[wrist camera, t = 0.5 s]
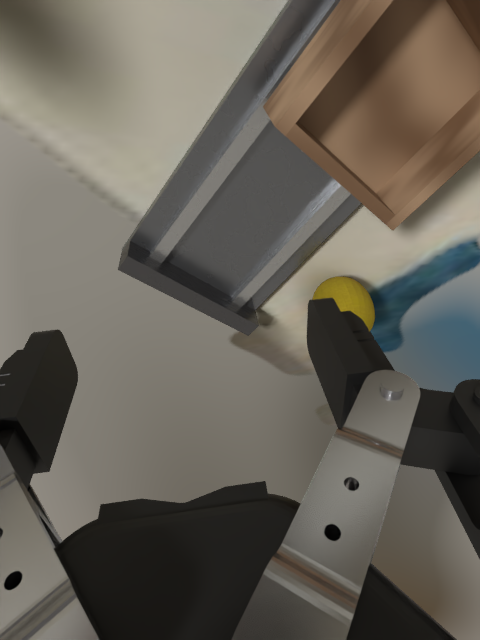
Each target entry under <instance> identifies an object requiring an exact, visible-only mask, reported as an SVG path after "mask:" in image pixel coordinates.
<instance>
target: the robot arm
mask: <svg viewBox="0 0 480 640" xmlns="http://www.w3.org/2000/svg"><path fill="white" fill-rule="evenodd" d="M307 346H308V351H309V355H310V358H311V360H312V363H313V365H314V368H315V370H316V373H317V375H318V378H319V381H320V383H321V386H322V388H323V391H324V393H325V396H326V398H327V401H328V404H329V406H330V409H331V411H332V414H333V416H334V419H335V421H336V424H337V427H338V429H337V430H336V432H335V434H334V435H333V437H332V440H331V442H330V444H329V446H328V448H327V450H326V452H325V454H324V456H323V458H322V460H321V463H320V465H319V467H318V469H317V471H316V473H315V475H314V477H313V479H312V481H311V483H310V486H309V488H308V490H307V492H306V494H305V496H304V498H303V500H302V502H301V504H300V503H298V502H296V501H295V500H292V499H289V498H287V497H283V496H279V495H275V494H268V493H267V488H266V482H265V481H263V482H256V483H249V484H242V485H235V486H228V487H224V488H221V489H219V490H216V491H214V492H212V493H209V494H206V495H204V496H201V497H199V498H196V499H194V500H191V501H189V502H186V503H175V502H166V501H157V500H148V499H136V500H129V501H123V502H115V503H109V504H101V506H100V511H99V517H98V519H97V520H94V521H92V522H90V523H88V524H86V525H84V526H83V527H81V528H80V529H78V530H77V531H75V532H74V533H73V534H71V535H70V536H68V537H67V538H66V539H65V540H63V541H62V539H61V538H60V536H59V535H58V533H57V531H56V529H55V528H54V526H53V524H52V522H51V520H50V518H49V517H48V515H47V513H46V511H45V509H44V508H43V506H42V504H41V502H40V501H39V499H38V497H37V495H36V493H35V492H34V490H33V488H32V487H31V485H30V481H31V478H32V475H33V474H34V473H42V472H49V471H50V468H51V465H52V461H53V458H54V455H55V452H56V449H57V446H58V443H59V440H60V436H61V433H62V430H63V427H64V424H65V421H66V418H67V414H68V411H69V408H70V405H71V402H72V399H73V395H74V392H75V389H76V386H77V382H78V372H77V367H76V364H75V362H74V359H73V357H72V355H71V352H70V350H69V348H68V346H67V343H66V341H65V338H64V336H63V334H62V332H61V331H60V330H50V331H42V332H34V333H32V334H31V336H30V337H29V339H28V341H27V343H26V345H25V347H24V349H23V350H17V351H16V352H15V353H14V354H13V355H12V356H11V357H10V358H8V359H7V360H6V361H5V362H4V364H3V366H2V367H1V369H0V640H456V639H455V638H454V637H453V636H452V635H451V634H450V633H449V632H448V631H446V630H445V629H444V628H443V627H442V626H441V625H440V624H439V623H437V622H436V621H435V620H434V619H433V618H432V617H431V616H430V615H428V614H427V613H426V612H425V611H424V610H423V609H422V608H421V607H419V606H418V605H417V604H416V603H415V602H414V601H413V600H411V599H410V598H409V597H408V596H407V595H406V594H405V593H404V592H403V591H402V590H400V589H399V588H398V587H397V586H396V585H395V584H394V583H393V582H391V581H390V580H389V579H388V578H387V577H386V576H385V575H384V574H382V573H381V572H380V571H379V570H378V569H377V568H376V567H375V566H374V565H373V564H371V561H372V558H373V554H374V551H375V547H376V544H377V541H378V538H379V534H380V531H381V527H382V524H383V521H384V517H385V514H386V511H387V507H388V504H389V501H390V497H391V494H392V490H393V487H394V484H395V481H396V477H397V474H398V471H399V467H400V464H402V465H408V466H414V467H420V468H427V469H433V470H435V472H436V474H437V476H438V478H439V480H440V482H441V483H442V486H443V487H444V490H445V492H446V493H447V496H448V498H449V499H450V501H451V503H452V505H453V507H454V509H455V511H456V513H457V515H458V517H459V519H460V521H461V523H462V525H463V527H464V529H465V531H466V533H467V535H468V537H469V539H470V541H471V543H472V544H473V547H474V549H475V551H476V553H477V555H478V557H479V558H480V380H476V379H475V380H474V379H472V380H465V381H463V382H461V383H459V384H458V385H457V386H456V388H455V391H454V393H451V392H442V391H434V390H427V389H422V388H419V387H418V385H417V383H416V382H415V381H414V380H413V379H411V378H410V377H408V376H407V375H405V374H403V373H400V372H397V371H395V370H394V369H393V367H392V365H391V364H390V362H389V361H388V359H387V358H386V356H385V354H384V353H383V351H382V350H381V348H380V346H379V345H378V343H377V342H376V340H374V337H373V335H372V334H371V332H369V329H368V327H367V326H366V324H365V323H364V321H363V320H362V319H361V318H360V317H359V316H357V315H356V314H354V313H353V312H351V311H342V312H341V311H340V309H339V307H338V305H337V304H336V302H335V300H334V299H333V298H323V299H315V300H310V301H309V303H308V320H307Z"/></svg>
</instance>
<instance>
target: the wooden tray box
mask: <svg viewBox="0 0 480 640" xmlns="http://www.w3.org/2000/svg"><path fill="white" fill-rule="evenodd" d="M263 108H264V110H265V111H266V113H267V115H268V116H269V118H270V120H271V121H272V123H273V124H274V126H275V127H276V128H277V129H278V130H279V131H280V132H281V133H282V134H284V135H285V136H286V137H287V138H288V139H289V140H290V141H292V142H293V143H294V144H295V145H296V146H297V147H298V148H300V149H301V150H302V151H303V152H304V153H305V154H306V155H307V156H309V157H310V158H311V159H312V160H313V161H314V162H315V163H317V164H318V165H319V166H320V167H321V168H322V169H323V170H325V171H326V172H327V173H328V174H329V175H330V176H331V177H332V178H334V179H335V180H336V181H337V182H338V183H339V184H340V185H342V186H343V187H344V188H345V189H346V190H347V191H348V192H350V193H351V194H352V195H353V196H354V197H355V198H356V199H357V200H359V201H360V202H361V203H362V204H363V205H364V206H365V207H367V208H368V209H369V210H370V211H371V212H372V213H373V214H375V215H376V216H377V217H378V218H379V219H380V220H381V221H382V222H384V223H385V224H386V225H387V226H388V227H389V228H390V229H392V230H394V229H395V228H396V227H397V226H398V225H399V224H400V223H402V222H403V221H404V220H405V219H406V218H407V217H408V216H409V215H410V214H411V213H412V212H414V211H415V210H416V209H417V208H418V207H419V206H420V205H421V204H422V203H423V202H424V201H426V200H427V199H428V198H429V197H430V196H431V195H432V194H433V193H434V192H435V191H436V190H438V189H439V188H440V187H441V186H442V185H443V184H444V183H445V182H446V181H447V180H448V179H449V178H451V177H452V176H453V175H454V174H455V173H456V172H457V171H458V170H459V169H460V168H461V167H463V166H464V165H465V164H466V163H467V162H468V161H469V160H470V159H471V158H472V157H473V156H475V155H476V154H477V153H478V152H479V151H480V0H341V1H340V2H339V3H338V5H337V6H336V7H335V9H334V10H333V11H332V13H331V14H330V16H329V17H328V18H327V20H326V21H325V22H324V24H323V25H322V27H321V28H320V29H319V31H318V32H317V33H316V35H315V36H314V37H313V39H312V40H311V42H310V43H309V44H308V46H307V47H306V48H305V50H304V51H303V52H302V54H301V55H300V57H299V58H298V59H297V61H296V62H295V63H294V65H293V66H292V67H291V69H290V70H289V71H288V72H287V73H286V74H285V76H284V77H283V78H282V80H281V81H280V83H279V85H278V87H277V88H276V89H275V91H274V92H273V93H272V95H271V96H270V98H269V99H268V100H267V102H266V103H265V104H264V106H263Z"/></svg>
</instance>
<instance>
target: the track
mask: <svg viewBox="0 0 480 640" xmlns="http://www.w3.org/2000/svg"><path fill="white" fill-rule="evenodd" d="M340 1H341V0H288V2H287V3H286V5H285V6H284V8H283V9H282V11H281V12H280V14H279V15H278V17H277V18H276V20H275V21H274V23H273V24H272V26H271V27H270V29H269V30H268V32H267V33H266V35H265V36H264V38H263V39H262V41H261V42H260V44H259V45H258V47H257V48H256V50H255V51H254V53H253V54H252V56H251V57H250V59H249V60H248V62H247V63H246V65H245V66H244V68H243V69H242V71H241V72H240V74H239V75H238V77H237V78H236V80H235V81H234V83H233V84H232V85H231V87H230V88H229V90H228V91H227V93H226V94H225V96H224V97H223V99H222V100H221V102H220V103H219V105H218V106H217V108H216V109H215V111H214V112H213V114H212V115H211V117H210V118H209V120H208V121H207V123H206V124H205V126H204V127H203V129H202V130H201V132H200V133H199V135H198V136H197V138H196V139H195V141H194V142H193V144H192V145H191V147H190V148H189V150H188V151H187V153H186V154H185V156H184V157H183V159H182V160H181V162H180V163H179V165H178V166H177V168H176V169H175V170H174V172H173V173H172V175H171V176H170V178H169V179H168V181H167V182H166V184H165V185H164V187H163V188H162V190H161V191H160V193H159V194H158V196H157V197H156V199H155V200H154V202H153V203H152V205H151V206H150V208H149V209H148V211H147V212H146V214H145V215H144V217H143V218H142V220H141V221H140V223H139V224H138V226H137V227H136V229H135V230H134V232H133V233H132V235H131V236H130V238H129V239H128V241H127V242H126V244H125V245H124V247H123V249H122V253H121V258H120V262H119V267H118V270H120V271H122V272H124V273H126V274H127V275H129V276H131V277H133V278H135V279H137V280H139V281H141V282H143V283H145V284H147V285H149V286H151V287H153V288H155V289H157V290H159V291H161V292H163V293H165V294H167V295H169V296H171V297H173V298H175V299H177V300H179V301H181V302H183V303H185V304H187V305H189V306H191V307H193V308H195V309H197V310H199V311H201V312H203V313H204V314H206V315H208V316H210V317H212V318H215V319H216V320H218V321H220V322H222V323H224V324H226V325H228V326H230V327H232V328H234V329H236V330H238V331H240V332H242V333H244V334H246V335H248V336H249V335H250V334H251V333H252V332H253V331H254V330H255V329H256V328H257V327H258V326H259V325H258V321H257V316H256V312H255V310H256V309H257V308H258V307H259V306H260V305H261V304H262V303H263V302H264V301H265V300H266V299H267V297H268V296H269V295H270V294H271V293H272V292H273V291H274V290H275V289H276V288H277V287H278V286H279V285H280V284H281V283H282V282H283V281H284V280H285V279H286V278H287V277H288V276H289V275H290V274H291V273H292V272H293V271H294V270H295V269H296V268H297V267H298V266H299V265H300V264H301V263H302V262H303V261H304V260H305V259H306V258H307V257H308V256H309V255H310V254H311V253H312V252H313V251H314V250H315V249H316V248H317V247H318V246H319V245H320V244H321V243H322V242H323V241H324V240H325V239H326V238H327V237H328V236H329V235H330V234H331V233H332V232H333V231H334V230H335V229H336V228H337V227H338V226H339V225H340V224H341V223H342V222H343V221H344V220H345V219H346V218H347V217H348V216H349V215H350V214H351V213H352V212H353V211H354V210H355V209H356V208H357V207H358V206H359V205H360V204H361V202H360V201H359V200H357V199H356V198H355V197H354V196H353V195H352V194H351V193H350V192H348V191H347V190H346V189H345V188H344V187H343V186H342V185H340V184H339V183H338V182H337V181H336V180H335V179H334V178H332V177H331V176H330V175H329V174H328V173H327V172H326V171H325V170H323V169H322V168H321V167H320V166H319V165H318V164H317V163H315V162H314V161H313V160H312V159H311V158H310V157H309V156H307V155H306V154H305V153H304V152H303V151H302V150H301V149H300V148H298V147H297V146H296V145H295V144H294V143H293V142H292V141H290V140H289V139H288V138H287V137H286V136H285V135H284V134H282V133H281V132H280V131H279V130H278V129H277V128H276V127H275V126H274V124H273V123H272V121H271V120H270V118H269V116H268V115H267V113H266V111H265V110H264V108H263V106H264V104H265V103H266V102H267V100H268V99H269V98H270V96H271V95H272V93H273V92H274V91H275V89H276V88H277V87H278V85H279V83H280V81H281V80H282V78H283V77H284V76H285V74H286V73H287V72H288V71H289V70H290V69H291V67H292V66H293V65H294V63H295V62H296V61H297V59H298V58H299V57H300V55H301V54H302V52H303V51H304V50H305V48H306V47H307V46H308V44H309V43H310V42H311V40H312V39H313V37H314V36H315V35H316V33H317V32H318V31H319V29H320V28H321V27H322V25H323V24H324V22H325V21H326V20H327V18H328V17H329V16H330V14H331V13H332V11H333V10H334V9H335V7H336V6H337V5H338V3H339V2H340Z"/></svg>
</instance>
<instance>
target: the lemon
mask: <svg viewBox="0 0 480 640" xmlns="http://www.w3.org/2000/svg"><path fill="white" fill-rule="evenodd" d="M323 298H333V299H334V300H335V302H336V304H337V305H338V307H339V309H340V311H341V312H342V311H351V312H353V313H354V314H356V315H357V316H359V317H360V318H361V319H362V320H363V321H364V323H365V324H366V326H367V327H368V329H369V332H370V330H371V329H372V327H373V324H374V320H375V311H374V305H373V302H372V300H371V297H370V295H369V293H368V292H367V290H366V289H365V288H364V287H363V286H362V285H361V284H360V283H359V282H357V281H355V280H354V279H352V278H348V277H344V276H343V277H333V278H330V279H328V280H326V281H324V282H323V283H322V284H321V285H320V286H319V287H318V288H317V289H316V291H315V293H314V296H313V299H312V300H315V299H323Z"/></svg>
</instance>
